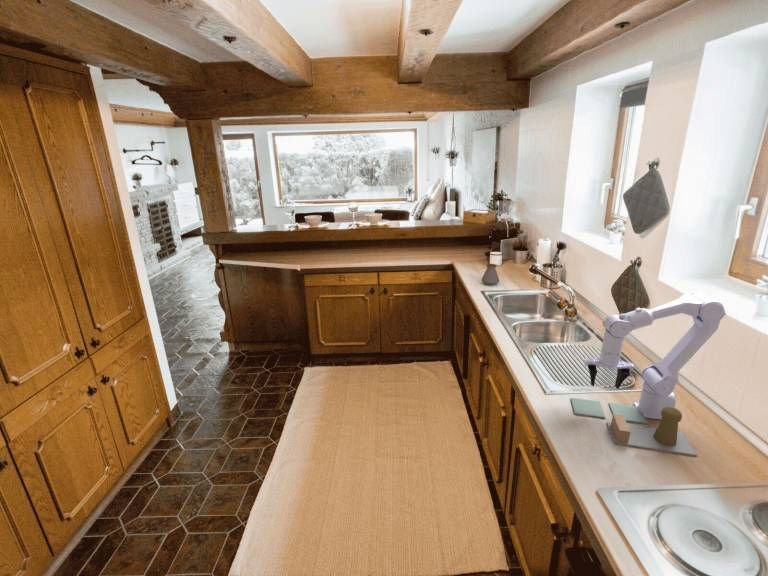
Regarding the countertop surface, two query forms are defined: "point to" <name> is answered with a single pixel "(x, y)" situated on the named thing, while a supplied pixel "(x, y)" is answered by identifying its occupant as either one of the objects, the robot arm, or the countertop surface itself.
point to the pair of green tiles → (596, 410)
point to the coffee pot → (490, 275)
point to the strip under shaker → (645, 437)
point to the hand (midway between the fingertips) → (604, 385)
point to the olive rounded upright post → (668, 426)
